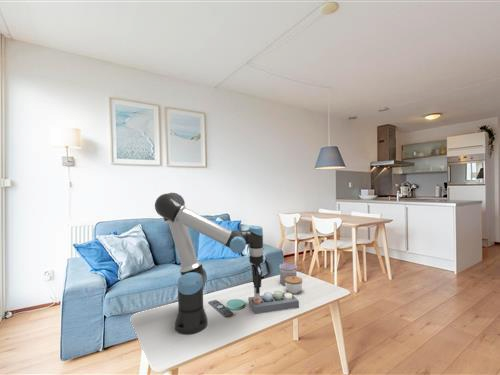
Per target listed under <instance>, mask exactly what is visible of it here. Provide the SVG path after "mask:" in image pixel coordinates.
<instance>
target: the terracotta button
mask: <svg viewBox="0 0 500 375" xmlns="http://www.w3.org/2000/svg"><path fill="white" fill-rule="evenodd" d="M253 303H254V304H259V303H261V298H260V299H255V298H253Z"/></svg>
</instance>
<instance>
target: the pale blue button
mask: <svg viewBox="0 0 500 375" xmlns="http://www.w3.org/2000/svg"><path fill="white" fill-rule="evenodd" d="M272 294H273V293H272V292H269V291H265V292H264V293H263V295H264V301H265V302H271V301H272Z"/></svg>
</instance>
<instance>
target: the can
mask: <svg viewBox="0 0 500 375" xmlns="http://www.w3.org/2000/svg"><path fill="white" fill-rule="evenodd" d="M297 268H298V266H297V264H295V263H292V262H284V263H281V264H279V281H280V282H279V285H281V286H282V287H286V286H285V278H286V277H289V276H297Z"/></svg>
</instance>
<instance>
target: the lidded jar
mask: <svg viewBox="0 0 500 375" xmlns="http://www.w3.org/2000/svg"><path fill="white" fill-rule="evenodd" d="M302 278H303V277H300V276H297V275H296V276H289V277H286V278H285V286H284V287H285V288H286V291H287V292H291V293H292V294H293V295H296V294H298V293H299V292H300V291H301V290H302V288H303V279H302Z"/></svg>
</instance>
